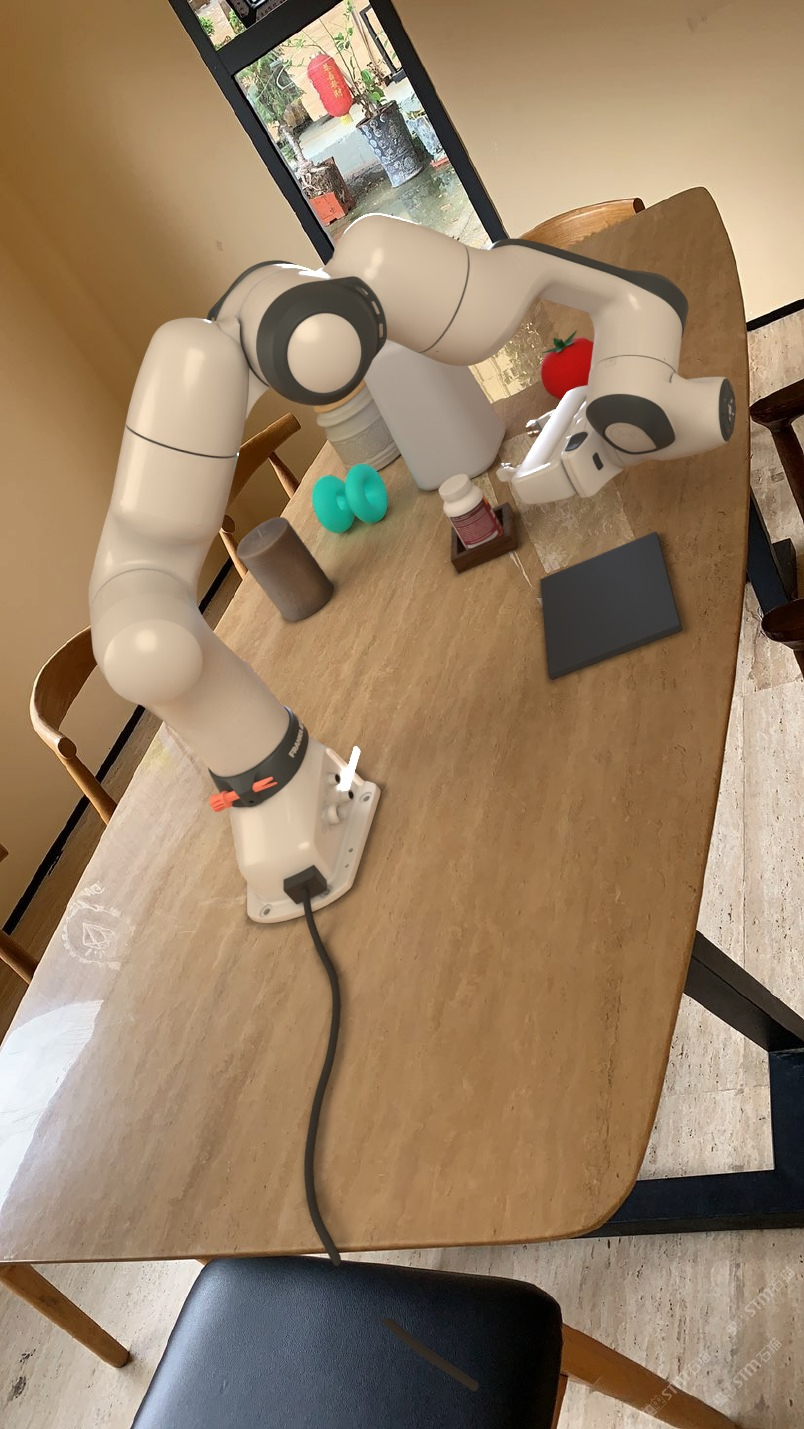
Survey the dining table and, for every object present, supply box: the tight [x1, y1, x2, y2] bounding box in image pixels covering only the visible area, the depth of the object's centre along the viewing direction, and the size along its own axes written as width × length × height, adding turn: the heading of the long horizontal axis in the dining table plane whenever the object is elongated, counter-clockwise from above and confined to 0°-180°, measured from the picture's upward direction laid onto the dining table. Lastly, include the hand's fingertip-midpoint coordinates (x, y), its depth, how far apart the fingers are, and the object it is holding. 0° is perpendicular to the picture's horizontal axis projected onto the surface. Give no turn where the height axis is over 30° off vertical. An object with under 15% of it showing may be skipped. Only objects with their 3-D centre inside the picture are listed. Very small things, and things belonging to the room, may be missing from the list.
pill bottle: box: [438, 474, 504, 551], centre depth 150 cm, size 6×6×11 cm
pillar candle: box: [235, 516, 335, 622], centre depth 164 cm, size 10×10×15 cm
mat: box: [539, 531, 684, 680], centre depth 127 cm, size 20×16×1 cm
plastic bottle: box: [363, 340, 506, 492], centre depth 168 cm, size 15×15×28 cm
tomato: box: [539, 329, 594, 401], centre depth 169 cm, size 10×10×10 cm
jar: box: [313, 379, 401, 472], centre depth 191 cm, size 13×13×18 cm
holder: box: [450, 501, 518, 575], centre depth 152 cm, size 9×9×2 cm
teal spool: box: [311, 464, 389, 534], centre depth 176 cm, size 10×10×10 cm
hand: (514, 451), depth 137 cm, fingers open, 8 cm apart
